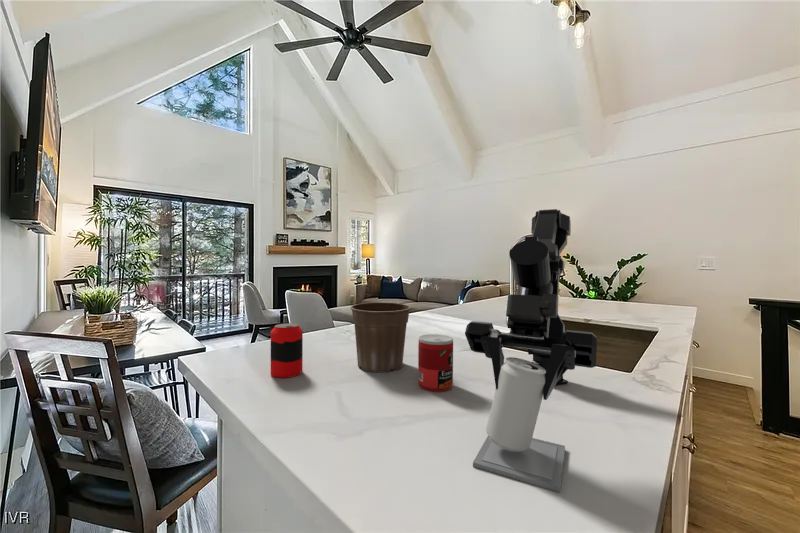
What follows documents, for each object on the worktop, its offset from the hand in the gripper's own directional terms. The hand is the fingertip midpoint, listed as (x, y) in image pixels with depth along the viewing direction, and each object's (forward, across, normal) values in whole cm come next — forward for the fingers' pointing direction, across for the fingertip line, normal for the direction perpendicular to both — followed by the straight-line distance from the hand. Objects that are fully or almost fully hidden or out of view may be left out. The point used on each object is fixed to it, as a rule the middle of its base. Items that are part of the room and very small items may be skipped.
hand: (520, 394), depth 49 cm
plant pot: (-12, -41, +27) cm, 50 cm away
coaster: (+6, 0, +8) cm, 10 cm away
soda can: (-1, -58, +15) cm, 60 cm away
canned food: (-8, -22, +22) cm, 32 cm away
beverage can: (+5, -2, +6) cm, 8 cm away
